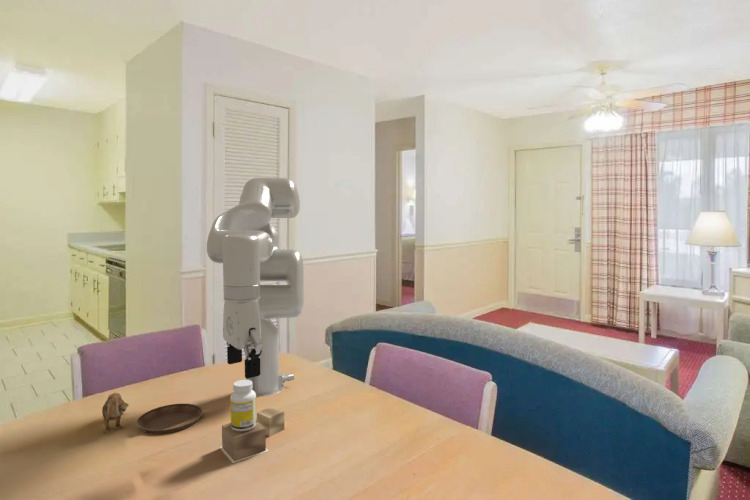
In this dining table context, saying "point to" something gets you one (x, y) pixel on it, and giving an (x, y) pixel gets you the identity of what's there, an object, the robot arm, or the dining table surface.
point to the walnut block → (243, 441)
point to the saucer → (168, 418)
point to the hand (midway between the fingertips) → (243, 369)
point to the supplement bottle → (243, 406)
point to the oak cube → (271, 420)
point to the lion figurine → (113, 410)
